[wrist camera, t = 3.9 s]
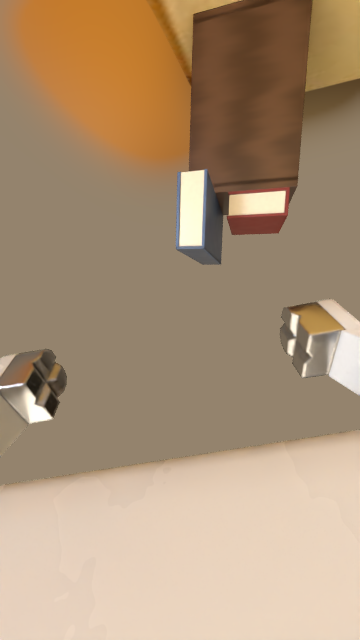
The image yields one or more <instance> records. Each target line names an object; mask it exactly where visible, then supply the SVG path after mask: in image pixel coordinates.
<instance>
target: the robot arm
mask: <svg viewBox="0 0 360 640" xmlns="http://www.w3.org/2000/svg"><path fill="white" fill-rule="evenodd" d="M281 318H282V319H283V321H284V322H285V323H284V324H283V326H282V327H281V328H280V339H281V344H282V346H283V349H284V351H285V352H286V354H288V355H289V356H291V357H293V363H292V364H293V365H294V367H295V368H296V370H297V372H298V373H299V375H300V376H301V378H308V377H316V376H323V375H329V376H330V377H331V378H333V379H334V380H336V381H337V382H339V383H341V384H342V385H344V386H345V387H347V388H349V389H350V390H352V391H353V392H355V393H356V394H358V395H360V322H359V321H358V320H357V319H355V318H354V317H353V316H352V315H351V314H350V313H348V312H347V311H346V310H345V309H344V308H343V307H341V306H340V305H339V304H338V303H337V302H336V301H334V300H333V299H325V300H320V301H315V302H313V303H307V304H301V305H296V306H290V307H285V308H283V311H282V316H281ZM55 359H56V356H55V355H54V353H53V352H52V350H49V349H44V350H37V351H30V352H24V353H19V354H12V355H6V356H4V357H2V358H1V359H0V457H1V456H2V454H3V453H4V452H5V451H6V450H7V449H8V448H9V446H10V445H11V444H12V443H13V442H14V441H15V440H16V439H17V437H18V436H19V435H20V434H21V433H22V432H23V431H24V430H25V428H27V426H28V424H31V423H36V422H41V421H46V420H51V419H53V418H54V415H55V413H56V410H57V408H58V405H59V403H60V402H59V400H58V397H59V396H60V394H62V393H63V392H64V390H65V387H66V380H67V376H66V373H65V370H64V369H63V367H62V366H61V365H59V364H58V363H56V362H55ZM0 640H360V430H353V431H347V432H340V433H334V434H327V435H321V436H315V437H308V438H302V439H295V440H289V441H283V442H276V443H269V444H263V445H257V446H250V447H244V448H237V449H230V450H225V451H218V452H211V453H205V454H199V455H192V456H185V457H179V458H172V459H166V460H160V461H153V462H147V463H140V464H134V465H128V466H121V467H115V468H108V469H102V470H95V471H89V472H82V473H76V474H69V475H63V476H57V477H50V478H44V479H37V480H31V481H25V482H18V483H11V484H5V485H0Z"/></svg>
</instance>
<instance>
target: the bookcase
mask: <svg viewBox="0 0 360 640" xmlns="http://www.w3.org/2000/svg"><path fill="white" fill-rule="evenodd" d="M311 10H312V0H243V1H239V2H236V3H232V4H229V5H225V6H221V7H218V8H214V9H211V10H207V11H204V12H200V13H197V14H194V17H193V51H192V86H191V121H190V123H191V125H190V156H189V172H191V171H200V170H204V169H207V170H208V172H209V175H210V178H211V181H212V184H213V187H214V190H215V193H216V196H217V199H218V202H219V205H220V208H221V211H222V214H223V215H229V196H228V192H233V191H246V190H258V189H271V188H283V187H290V192H289V203H290V201H291V199H292V196H293V194H294V192H295V190H296V188H297V183H298V170H299V158H300V146H301V134H302V121H303V109H304V96H305V84H306V72H307V60H308V47H309V35H310V23H311Z"/></svg>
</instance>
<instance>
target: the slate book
mask: <svg viewBox="0 0 360 640" xmlns="http://www.w3.org/2000/svg"><path fill="white" fill-rule="evenodd" d="M176 223H177V224H176V249H177V250H178V251H180V252H182V253H183V254H185V255H187V256H189V257H190V258H192V259H194V260H196V261H197V262H199V263H201V264H221V251H222V228H223V214H222V211H221V208H220V205H219V202H218V199H217V196H216V193H215V190H214V187H213V184H212V181H211V178H210V175H209V172H208V170H207V169H204V170H200V171H191V172H178V181H177V222H176Z"/></svg>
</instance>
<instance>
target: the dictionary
mask: <svg viewBox="0 0 360 640" xmlns="http://www.w3.org/2000/svg"><path fill="white" fill-rule="evenodd" d="M289 192H290V187H283V188H271V189H258V190H246V191H233V192H228V196H229V216H227V220H228V223H229V226H230V230H231V233H232V235H241V234H271V233H279V231H280V229H281V227H282V225H283V223H284V221H285V219H286V217H287V215H288V205H289Z"/></svg>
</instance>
